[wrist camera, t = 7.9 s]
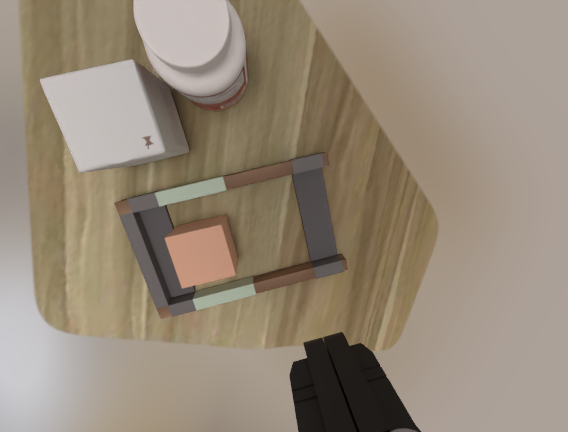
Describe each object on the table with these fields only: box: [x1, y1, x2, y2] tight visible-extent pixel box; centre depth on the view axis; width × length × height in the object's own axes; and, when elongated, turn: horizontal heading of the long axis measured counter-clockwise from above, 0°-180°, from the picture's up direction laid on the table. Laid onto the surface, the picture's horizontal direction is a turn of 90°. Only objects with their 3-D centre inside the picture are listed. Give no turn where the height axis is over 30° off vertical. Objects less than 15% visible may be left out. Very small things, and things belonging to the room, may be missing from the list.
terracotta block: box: [165, 215, 238, 289], centre depth 26 cm, size 5×5×4 cm
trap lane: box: [115, 152, 348, 318], centre depth 27 cm, size 12×20×2 cm, turn 103°
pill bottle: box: [133, 0, 248, 111], centre depth 19 cm, size 6×6×11 cm
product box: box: [40, 59, 189, 172], centre depth 21 cm, size 6×6×7 cm
